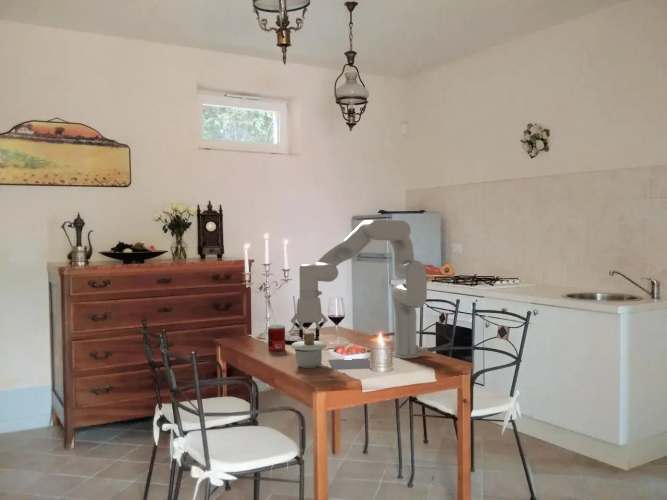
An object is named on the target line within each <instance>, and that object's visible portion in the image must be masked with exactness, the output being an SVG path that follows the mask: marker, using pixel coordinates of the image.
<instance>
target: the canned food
mask: <svg viewBox="0 0 667 500" xmlns="http://www.w3.org/2000/svg"><path fill="white" fill-rule="evenodd" d="M267 345H268V348H267V349H268V351H269V352H273V353H274V352H278V353H279V352H283V351H285V349H286V326H285V325H282V324H272V325H268V326H267Z"/></svg>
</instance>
